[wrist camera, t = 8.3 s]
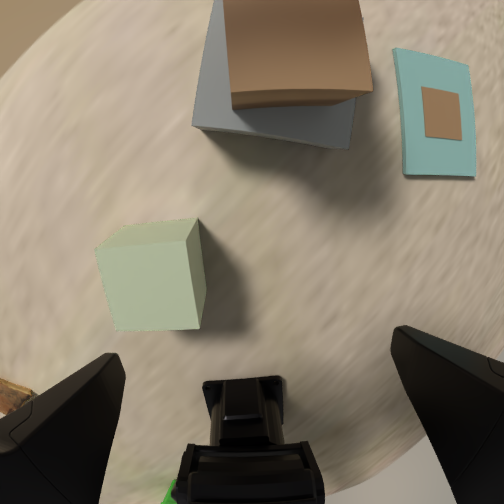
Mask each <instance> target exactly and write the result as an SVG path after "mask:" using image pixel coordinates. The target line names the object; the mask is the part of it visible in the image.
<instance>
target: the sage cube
mask: <svg viewBox="0 0 504 504" xmlns="http://www.w3.org/2000/svg"><path fill="white" fill-rule="evenodd" d="M94 250H95V255H96V259H97V263H98V268H99V272H100V276H101V280H102V283H103V287H104V291H105V295H106V298H107V302H108V305H109V309H110V312H111V315H112V319H113V322H114V325H115V328H116V331H162V330H187V329H200V325H201V319H202V313H203V308H204V302H205V297H206V291H207V287H206V280H205V272H204V265H203V257H202V250H201V242H200V234H199V225H198V218H190V219H180V220H170V221H160V222H151V223H142V224H133V225H125V226H123V227H122V228H121V229H119V230H118V231H117V232H116V233H114V234H113V235H112V236H111V237H109V238H108V239H107V240H105V241H104V242H103V243H102V244H100V245H99V246H98V247H97V248H96V249H94Z"/></svg>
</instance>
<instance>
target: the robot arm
mask: <svg viewBox="0 0 504 504" xmlns="http://www.w3.org/2000/svg"><path fill="white" fill-rule="evenodd" d="M390 350H391V355H392V358H393V360H394V363H395V365H396V368H397V371H398V373H399V376H400V379H401V381H402V384H403V386H404V389H405V391H406V393H407V395H408V397H409V399H410V401H411V403H412V405H413V407H414V409H415V411H416V413H417V415H418V417H419V419H420V421H421V423H422V425H423V427H424V429H425V431H426V434H427V436H428V438H429V440H430V442H431V444H432V446H433V449H434V451H435V453H436V455H437V457H438V460H439V462H440V464H441V466H442V469H443V471H444V473H445V476H446V478H447V480H448V483H449V485H450V487H451V490H452V492H453V495H454V498H455V500H456V503H457V504H504V363H503V362H500V361H497V360H495V359H492V358H490V357H486V356H484V355H482V354H479V353H476V352H474V351H471V350H469V349H466V348H464V347H461V346H458V345H456V344H453V343H451V342H448V341H446V340H443V339H440V338H438V337H435V336H433V335H430V334H428V333H425V332H423V331H420V330H417V329H415V328H412V327H410V326H407V325H403V326H398V327H396V328H395V329H394V331H393V336H392V342H391V348H390ZM125 380H126V375H125V371H124V368H123V366H122V363H121V360H120V357H119V355H118V354H117V353H105V354H103V355H101V356H100V357H98V358H97V359H95V360H94V361H92V362H91V363H89V364H87V365H86V366H84V367H83V368H81V369H80V370H78V371H77V372H75V373H73V374H72V375H70V376H69V377H67V378H66V379H64V380H62V381H61V382H59V383H58V384H56V385H55V386H53V387H52V388H50V389H48V390H47V391H45V392H44V393H42V394H41V395H39V396H37V397H36V398H34V399H33V401H32V400H31V401H30V402H28V403H26V404H25V405H23V406H22V407H20V408H18V409H17V410H15V411H13V412H12V413H10V414H8V415H6V416H4V417H2V418H0V504H99V499H100V494H101V489H102V485H103V480H104V476H105V471H106V467H107V463H108V459H109V455H110V451H111V447H112V443H113V439H114V435H115V431H116V428H117V424H118V420H119V416H120V410H121V404H122V398H123V392H124V386H125ZM274 381H277V382H274ZM207 386H209V387H207ZM202 389H203V393H204V397H205V401H206V404H207V408H208V412H209V415H210V419H211V431H210V446H207V445H195V444H189V443H188V445H187V449H186V451H184V454H183V456H182V460H181V465H180V469H179V473H178V477H177V480H176V482H175V484H174V486H173V488H172V490H171V498H172V499H173V500H174V501H175V502H176V503H177V504H325V490H324V483H323V478H322V475H321V472H320V470H319V467H318V465H317V463H316V460H315V458H314V455H313V453H312V450H311V448H310V445H309V443H308V441H302V442H300V443H292V444H284V438H283V431H282V425H283V392H282V379H281V377H280V376H268V377H257V378H246V379H233V380H218V381H205V382H204V383H203V386H202Z"/></svg>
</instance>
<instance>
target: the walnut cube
mask: <svg viewBox="0 0 504 504" xmlns="http://www.w3.org/2000/svg"><path fill="white" fill-rule="evenodd" d="M223 10H224V23H225V34H226V46H227V58H228V69H229V80H230V91H231V103H232V110H240V109H252V108H267V107H289V106H333V105H336V104H339V103H341V102H344V101H347V100H350V99H352V98H355V97H358V96H361V95H364V94H367V93H369V92H372V91H373V85H372V77H371V69H370V62H369V55H368V48H367V42H366V36H365V30H364V25H363V20H362V15H361V10H360V5H359V1H358V0H223Z"/></svg>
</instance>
